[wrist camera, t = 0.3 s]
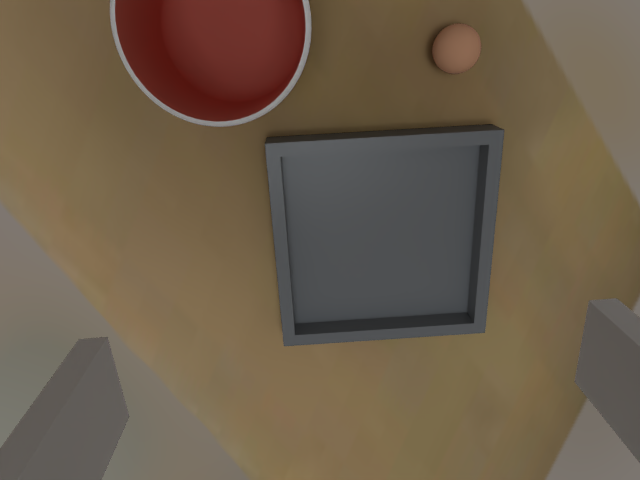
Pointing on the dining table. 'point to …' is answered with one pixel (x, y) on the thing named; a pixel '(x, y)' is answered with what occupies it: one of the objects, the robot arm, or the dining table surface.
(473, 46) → the ball
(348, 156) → the tray
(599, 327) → the robot arm
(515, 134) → the dining table surface
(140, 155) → the dining table surface
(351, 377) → the dining table surface
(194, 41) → the cup
